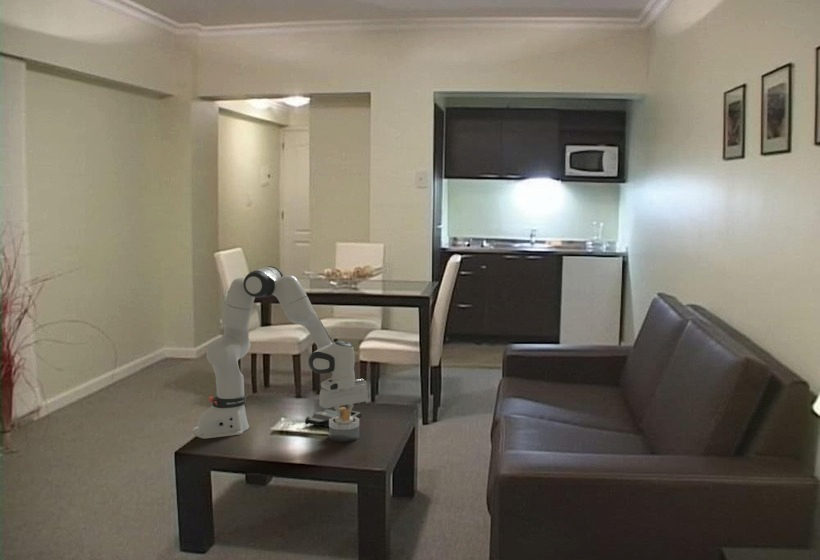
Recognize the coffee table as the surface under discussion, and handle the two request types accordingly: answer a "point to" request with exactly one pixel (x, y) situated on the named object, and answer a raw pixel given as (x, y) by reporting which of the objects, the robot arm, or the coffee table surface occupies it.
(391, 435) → the coffee table surface
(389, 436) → the coffee table surface
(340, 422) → the block on round base
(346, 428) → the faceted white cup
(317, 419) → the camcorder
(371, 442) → the coffee table surface
